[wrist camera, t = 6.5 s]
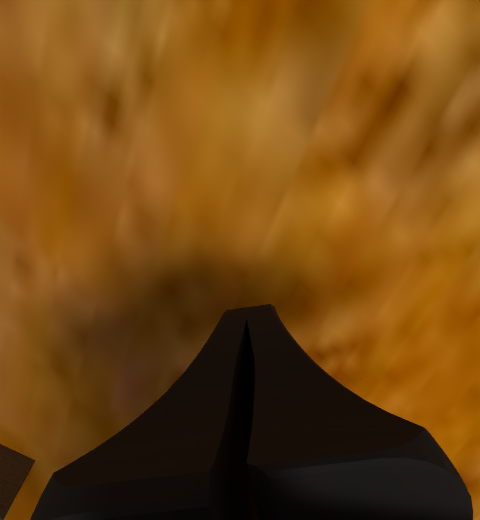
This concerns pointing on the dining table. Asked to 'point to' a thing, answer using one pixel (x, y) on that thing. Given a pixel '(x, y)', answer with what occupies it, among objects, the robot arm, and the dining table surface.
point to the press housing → (11, 476)
